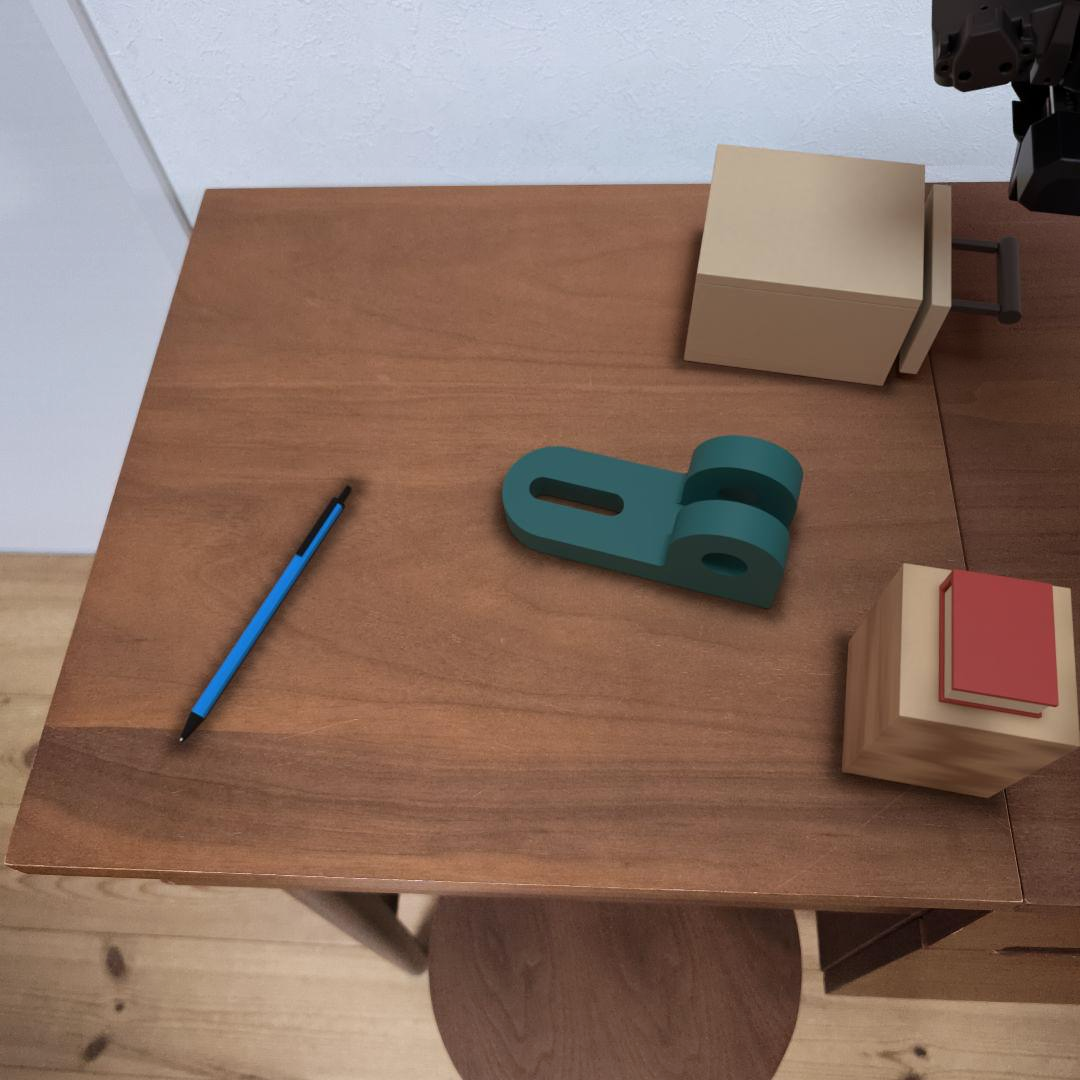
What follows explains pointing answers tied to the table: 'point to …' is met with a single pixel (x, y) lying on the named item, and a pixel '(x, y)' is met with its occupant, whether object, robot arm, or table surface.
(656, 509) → the bracket
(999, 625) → the book
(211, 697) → the pen
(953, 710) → the stand
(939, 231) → the drawer
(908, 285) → the cabinet
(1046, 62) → the robot arm
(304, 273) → the table surface
